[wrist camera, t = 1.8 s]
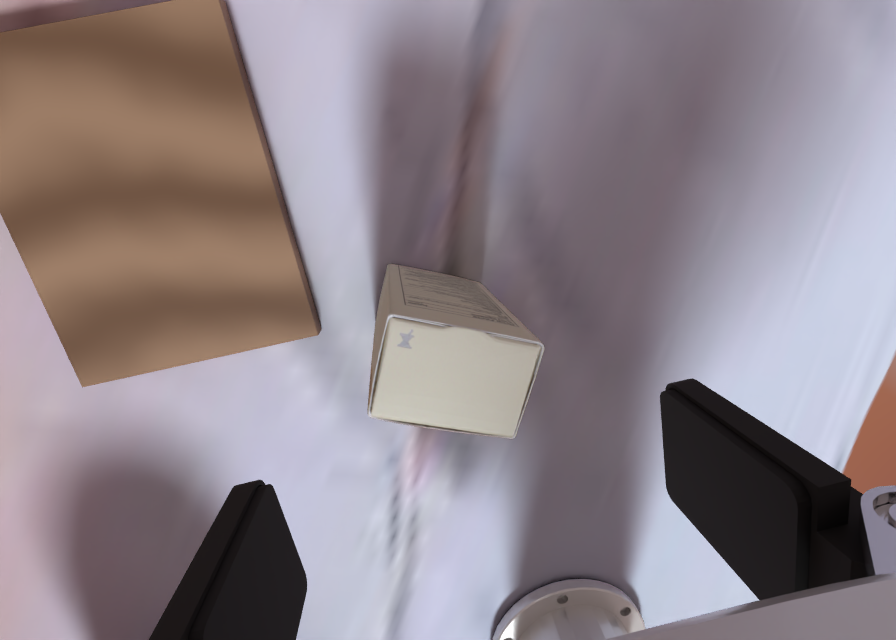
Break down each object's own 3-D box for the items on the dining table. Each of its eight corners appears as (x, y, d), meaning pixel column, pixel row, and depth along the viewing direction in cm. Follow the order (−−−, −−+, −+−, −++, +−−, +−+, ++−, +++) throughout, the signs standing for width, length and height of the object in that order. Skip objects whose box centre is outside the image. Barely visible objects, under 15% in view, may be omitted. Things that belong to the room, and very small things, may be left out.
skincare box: (373, 327, 29) (355, 419, 17) (387, 260, 28) (378, 309, 16) (471, 346, 30) (517, 446, 18) (488, 282, 29) (548, 344, 17)
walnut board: (321, 329, 28) (318, 335, 27) (95, 379, 28) (82, 387, 27) (225, 2, 23) (216, -8, 22) (-54, 54, 23) (-78, 47, 22)
